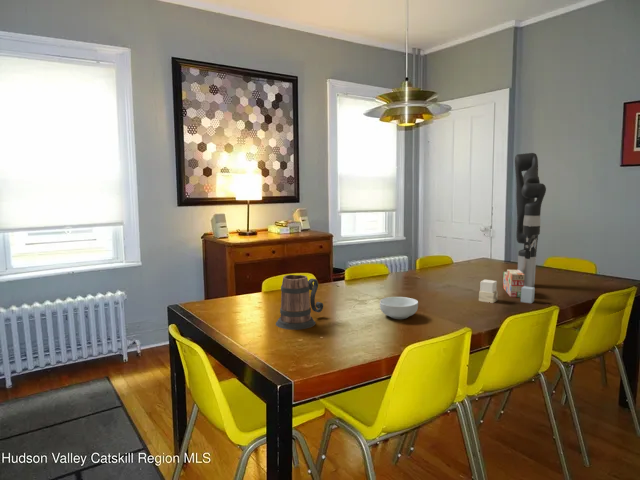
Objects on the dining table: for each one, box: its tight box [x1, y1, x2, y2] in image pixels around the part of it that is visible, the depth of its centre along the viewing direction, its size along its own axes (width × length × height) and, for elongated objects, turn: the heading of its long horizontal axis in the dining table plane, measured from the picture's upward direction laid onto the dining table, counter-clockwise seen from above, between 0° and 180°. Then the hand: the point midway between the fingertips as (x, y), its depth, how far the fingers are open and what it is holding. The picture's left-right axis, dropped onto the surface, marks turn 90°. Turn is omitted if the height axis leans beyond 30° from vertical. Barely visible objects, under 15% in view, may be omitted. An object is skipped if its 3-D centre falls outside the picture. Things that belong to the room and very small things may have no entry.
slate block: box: [520, 286, 536, 304], centre depth 225 cm, size 5×5×7 cm
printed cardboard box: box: [502, 269, 525, 298], centre depth 243 cm, size 21×6×12 cm, turn 169°
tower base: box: [478, 290, 499, 304], centre depth 227 cm, size 7×7×5 cm
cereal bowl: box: [379, 296, 419, 320], centre depth 200 cm, size 17×17×7 cm
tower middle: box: [479, 279, 498, 293], centre depth 226 cm, size 6×6×5 cm
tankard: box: [275, 274, 324, 331], centre depth 192 cm, size 24×17×20 cm
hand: (529, 257), depth 222 cm, fingers open, 8 cm apart
